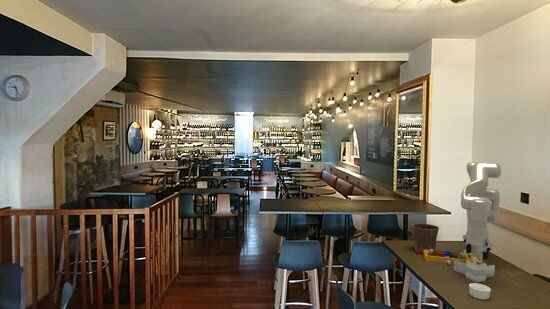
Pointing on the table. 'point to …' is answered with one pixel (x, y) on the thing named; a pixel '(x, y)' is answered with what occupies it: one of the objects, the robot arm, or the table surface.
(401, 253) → the table surface
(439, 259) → the mechanical clamp
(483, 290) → the ramekin
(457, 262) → the white corner connector
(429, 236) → the plant pot
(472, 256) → the wooden bell shape
